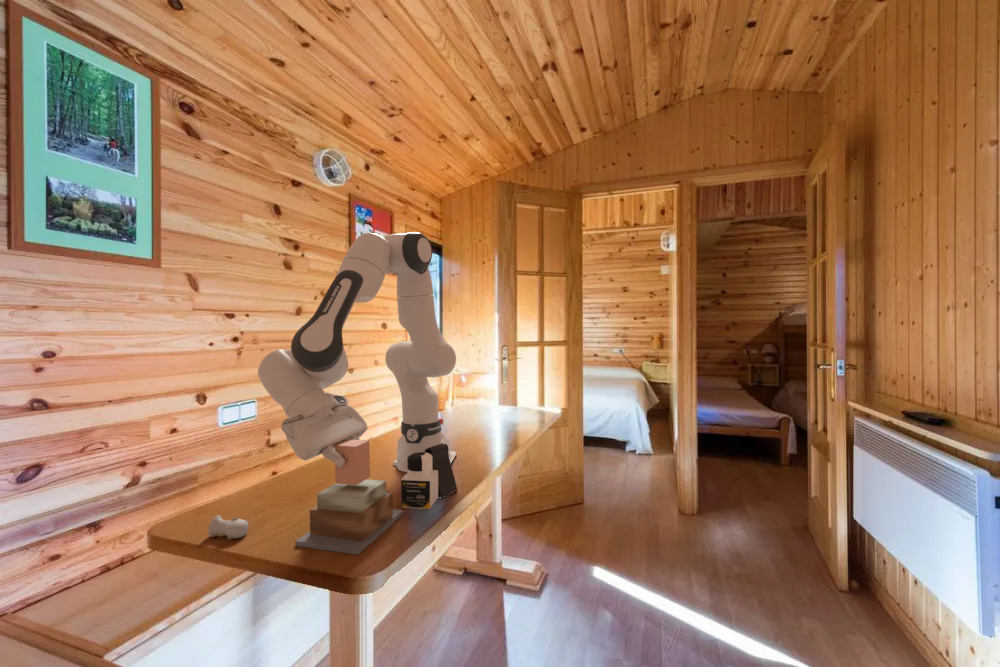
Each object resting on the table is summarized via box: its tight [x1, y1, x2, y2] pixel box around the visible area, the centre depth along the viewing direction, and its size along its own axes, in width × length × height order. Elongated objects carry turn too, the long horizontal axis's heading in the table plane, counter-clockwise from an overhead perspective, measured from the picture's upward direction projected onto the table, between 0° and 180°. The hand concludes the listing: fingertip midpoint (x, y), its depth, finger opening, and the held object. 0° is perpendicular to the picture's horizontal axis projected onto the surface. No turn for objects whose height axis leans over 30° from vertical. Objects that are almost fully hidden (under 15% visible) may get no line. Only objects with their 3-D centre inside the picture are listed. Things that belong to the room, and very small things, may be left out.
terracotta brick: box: [334, 439, 371, 485], centre depth 90 cm, size 5×5×8 cm
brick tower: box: [309, 478, 394, 541], centre depth 91 cm, size 12×12×8 cm
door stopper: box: [425, 443, 458, 499], centre depth 111 cm, size 9×6×12 cm, turn 54°
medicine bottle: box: [400, 452, 439, 510], centre depth 104 cm, size 7×7×12 cm
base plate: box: [295, 508, 404, 555], centre depth 91 cm, size 18×14×1 cm
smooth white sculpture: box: [207, 515, 250, 539], centre depth 88 cm, size 4×8×5 cm
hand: (353, 459), depth 90 cm, fingers closed on terracotta brick, 5 cm apart
